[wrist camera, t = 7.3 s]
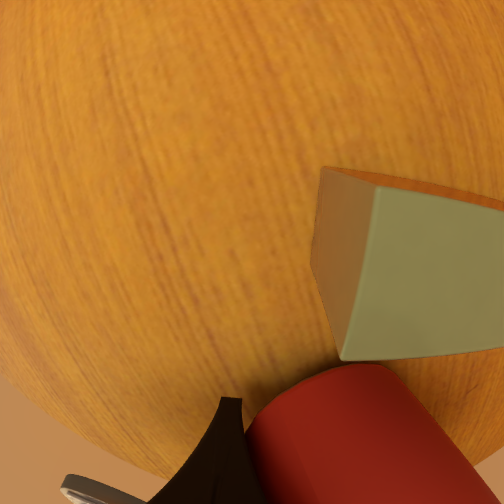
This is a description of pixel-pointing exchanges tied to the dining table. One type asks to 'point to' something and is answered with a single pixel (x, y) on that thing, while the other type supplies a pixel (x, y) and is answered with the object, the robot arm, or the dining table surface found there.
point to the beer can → (357, 445)
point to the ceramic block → (407, 266)
